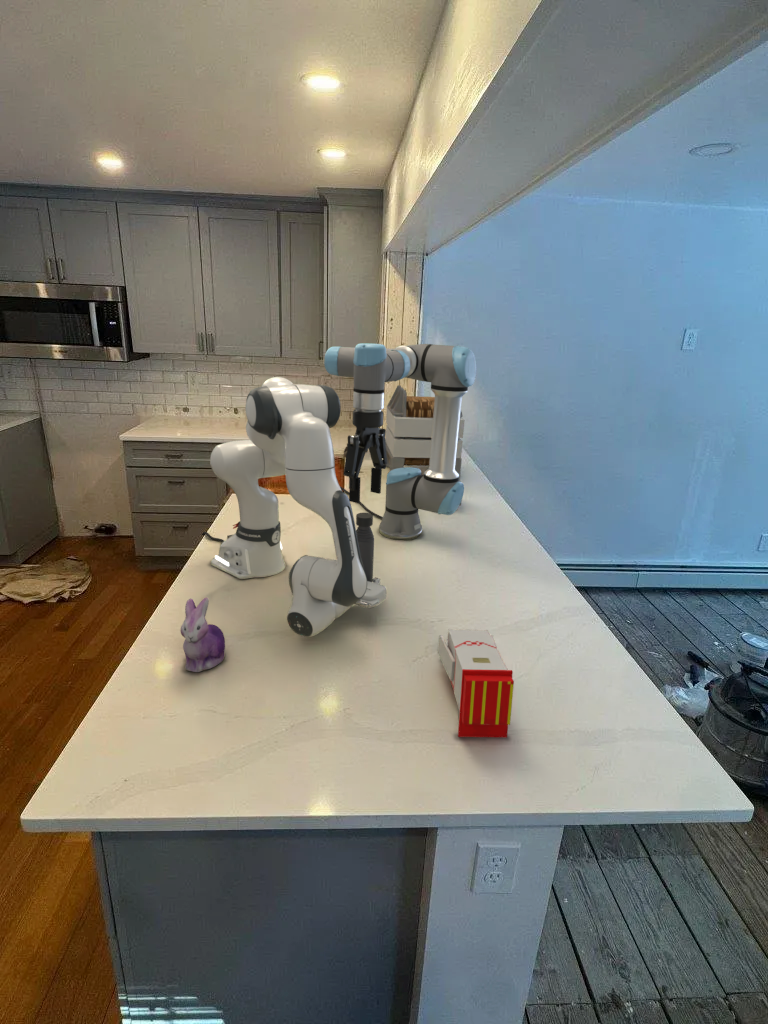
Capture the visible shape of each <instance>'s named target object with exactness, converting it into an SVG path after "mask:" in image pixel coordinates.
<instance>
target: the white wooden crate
mask: <svg viewBox="0 0 768 1024" xmlns="http://www.w3.org/2000/svg"><path fill="white" fill-rule="evenodd" d="M407 394H408V393H407V390H406V389H404V388H403V387H402V385H399V384H398V385H397V386H396V388H395V390H394V392H393V394H392V395H391V398H390V400H389V402H388V404H387V405H386V413H385V414H386V415H385V423H386V428H385V429H386V434H385V442H386V453H387V464H386V468H387V467H388V468H389V472H390V471H391V470H393V469H397V468H405V466H406V467H409V466H411V467H417V466H418V467H429V461H430V449H431V437H432V425H433V413H434V401H435V396H415V395H414V396H413V395H412V396H411V395H407ZM464 429H465V419H464V418H463V411H461V413H460V423H459V433H458V444H457V454H456V464H455V471H456V472H457V473H458V474H459V482H461V472H462V461H463V460H462V453H463V442H464V441H463V440H462V439H463V438H464V431H465V430H464Z"/></svg>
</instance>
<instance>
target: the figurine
mask: <svg viewBox="0 0 768 1024" xmlns="http://www.w3.org/2000/svg"><path fill="white" fill-rule="evenodd" d="M209 603H210V600H209V598H208V597H204V598H202V599H201V601H200V603H199V604H198V605H197V606H196V602H195V601H194V599H193V598H188V599H187V601H186V603H185V612H184V613H185V618H184V620H183V621H182V624H181V625H180V634H181V636H182V637H183V638H184V641H183V643H182V650H183V654H184V656H185V659H186V661H185V667H184V668H185V670H187V671H189V672H193V673H200V672H202V671H205V670H211V669H213V668H214V667H216V666H218V665H219V664H220V663H222V662H223V661H224V659H225V651H226V638H225V635H224V632H223V630H222V629H221V628H220V627H219V626H218V625H216V624H212V623H211V624H210V623H208V621H207V619H206V615H207V612H208V608H209Z"/></svg>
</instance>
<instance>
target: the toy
mask: <svg viewBox="0 0 768 1024" xmlns="http://www.w3.org/2000/svg"><path fill="white" fill-rule="evenodd" d="M446 640H447V643H446V641H445V639H444V636H443V635H442V634H439V637H438V646H437V656H438V657H439V659H440V661H441V663H442V666H443V668H444V670H445V672H446V674H447V677H448V679H449V681H450V684H451V687H452V690H453V693H454V697H455V701H456V705H457V708H458V711H459V714H458V715H459V716H458V730H457V731H458V732H457V737H458V738H508V731H509V726H510V725H511V717H512V707H513V697H514V696H513V695H514V684H515V680H514V679H513V673H514V671H513V670H512V669H508V667H507V665H506V662H505V661H504V659H503V658H502V655H501V653H500V651H499V649H498V647H497V643H496V639H495V637H494V635H493V634H491V632H490V631H489V629H467V628H466V629H465V628H463V629H461V628H460V629H459V628H448V630H447V639H446Z"/></svg>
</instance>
